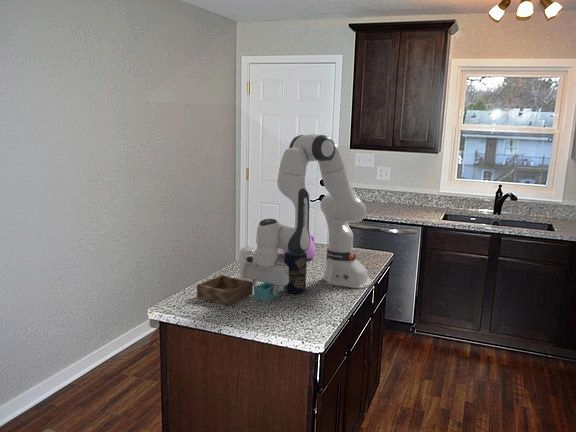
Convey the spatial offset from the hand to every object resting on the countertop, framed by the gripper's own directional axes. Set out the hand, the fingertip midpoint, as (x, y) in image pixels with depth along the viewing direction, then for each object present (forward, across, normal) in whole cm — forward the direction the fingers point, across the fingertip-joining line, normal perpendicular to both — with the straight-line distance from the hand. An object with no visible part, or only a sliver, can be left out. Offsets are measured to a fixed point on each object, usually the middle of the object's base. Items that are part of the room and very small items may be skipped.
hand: (264, 292), depth 203 cm
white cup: (+2, +18, -13) cm, 22 cm away
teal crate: (+2, 0, -1) cm, 2 cm away
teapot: (+1, +20, -63) cm, 66 cm away
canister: (+2, -6, -14) cm, 15 cm away
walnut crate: (+2, +14, +8) cm, 16 cm away
